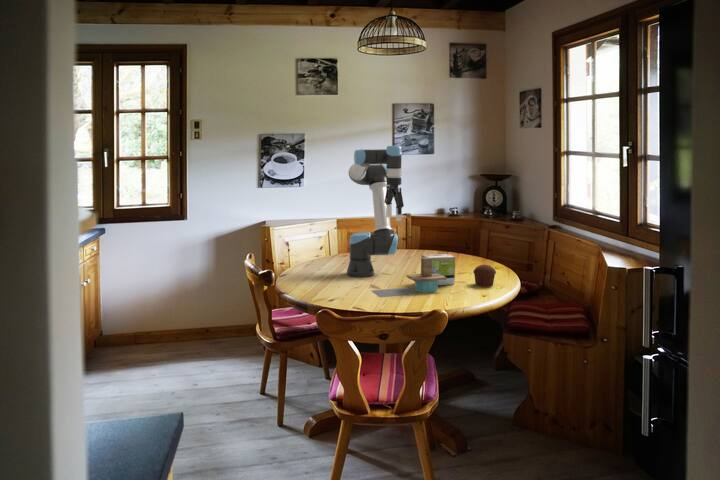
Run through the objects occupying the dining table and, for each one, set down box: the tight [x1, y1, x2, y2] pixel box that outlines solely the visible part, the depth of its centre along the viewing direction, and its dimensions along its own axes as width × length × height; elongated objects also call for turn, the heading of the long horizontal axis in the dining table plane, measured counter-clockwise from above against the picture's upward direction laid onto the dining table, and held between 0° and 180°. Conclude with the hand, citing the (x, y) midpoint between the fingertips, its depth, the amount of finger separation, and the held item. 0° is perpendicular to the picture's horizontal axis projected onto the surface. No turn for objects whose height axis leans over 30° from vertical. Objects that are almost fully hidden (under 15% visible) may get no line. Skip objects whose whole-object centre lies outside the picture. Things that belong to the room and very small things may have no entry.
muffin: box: [472, 264, 497, 287], centre depth 307 cm, size 12×11×10 cm
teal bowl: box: [414, 280, 439, 293], centre depth 296 cm, size 11×11×6 cm
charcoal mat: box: [371, 287, 420, 298], centre depth 292 cm, size 14×20×1 cm
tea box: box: [421, 253, 456, 286], centre depth 310 cm, size 15×10×15 cm, turn 105°
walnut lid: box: [406, 257, 447, 283], centre depth 295 cm, size 12×16×10 cm
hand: (393, 219), depth 306 cm, fingers open, 13 cm apart
